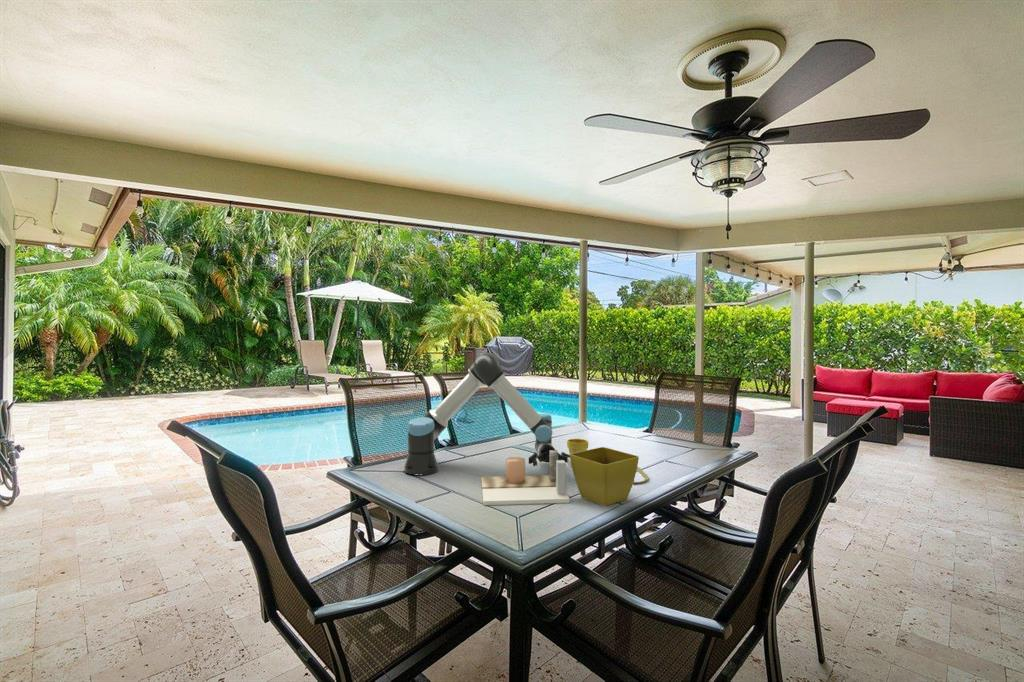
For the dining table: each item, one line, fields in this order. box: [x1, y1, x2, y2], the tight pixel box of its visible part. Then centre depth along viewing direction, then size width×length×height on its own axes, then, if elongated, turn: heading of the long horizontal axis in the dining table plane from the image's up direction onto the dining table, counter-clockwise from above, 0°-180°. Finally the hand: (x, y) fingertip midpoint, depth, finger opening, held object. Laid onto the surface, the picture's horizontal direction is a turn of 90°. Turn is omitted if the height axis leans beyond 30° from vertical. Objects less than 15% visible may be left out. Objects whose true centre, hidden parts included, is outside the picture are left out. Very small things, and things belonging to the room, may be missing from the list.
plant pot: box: [566, 438, 589, 455], centre depth 242 cm, size 10×10×10 cm
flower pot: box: [569, 446, 640, 507], centre depth 187 cm, size 19×19×17 cm
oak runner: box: [480, 449, 559, 490], centre depth 204 cm, size 32×14×14 cm, turn 95°
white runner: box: [481, 460, 571, 506], centre depth 188 cm, size 32×14×14 cm, turn 95°
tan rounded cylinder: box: [505, 456, 526, 484], centre depth 204 cm, size 8×8×9 cm
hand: (555, 465), depth 203 cm, fingers open, 13 cm apart
